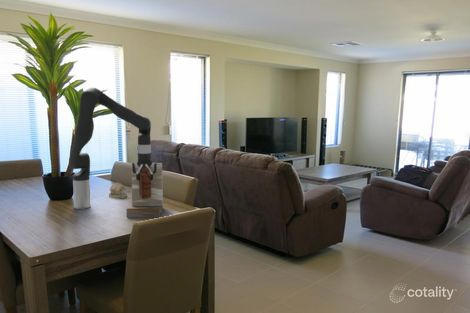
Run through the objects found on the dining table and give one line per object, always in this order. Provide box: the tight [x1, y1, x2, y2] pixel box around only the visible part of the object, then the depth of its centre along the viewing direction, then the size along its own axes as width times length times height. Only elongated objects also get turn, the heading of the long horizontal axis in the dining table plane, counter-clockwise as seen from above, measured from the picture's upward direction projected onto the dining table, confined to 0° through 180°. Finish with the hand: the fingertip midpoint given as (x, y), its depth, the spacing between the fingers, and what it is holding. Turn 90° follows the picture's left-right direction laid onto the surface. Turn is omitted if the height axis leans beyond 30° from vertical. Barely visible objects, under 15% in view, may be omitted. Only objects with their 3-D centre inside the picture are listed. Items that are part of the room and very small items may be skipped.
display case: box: [126, 162, 164, 218], centre depth 210 cm, size 18×18×28 cm
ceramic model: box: [108, 181, 128, 199], centre depth 249 cm, size 14×11×10 cm
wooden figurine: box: [139, 167, 151, 199], centre depth 210 cm, size 12×6×18 cm, turn 23°
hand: (144, 180), depth 210 cm, fingers closed on wooden figurine, 7 cm apart
